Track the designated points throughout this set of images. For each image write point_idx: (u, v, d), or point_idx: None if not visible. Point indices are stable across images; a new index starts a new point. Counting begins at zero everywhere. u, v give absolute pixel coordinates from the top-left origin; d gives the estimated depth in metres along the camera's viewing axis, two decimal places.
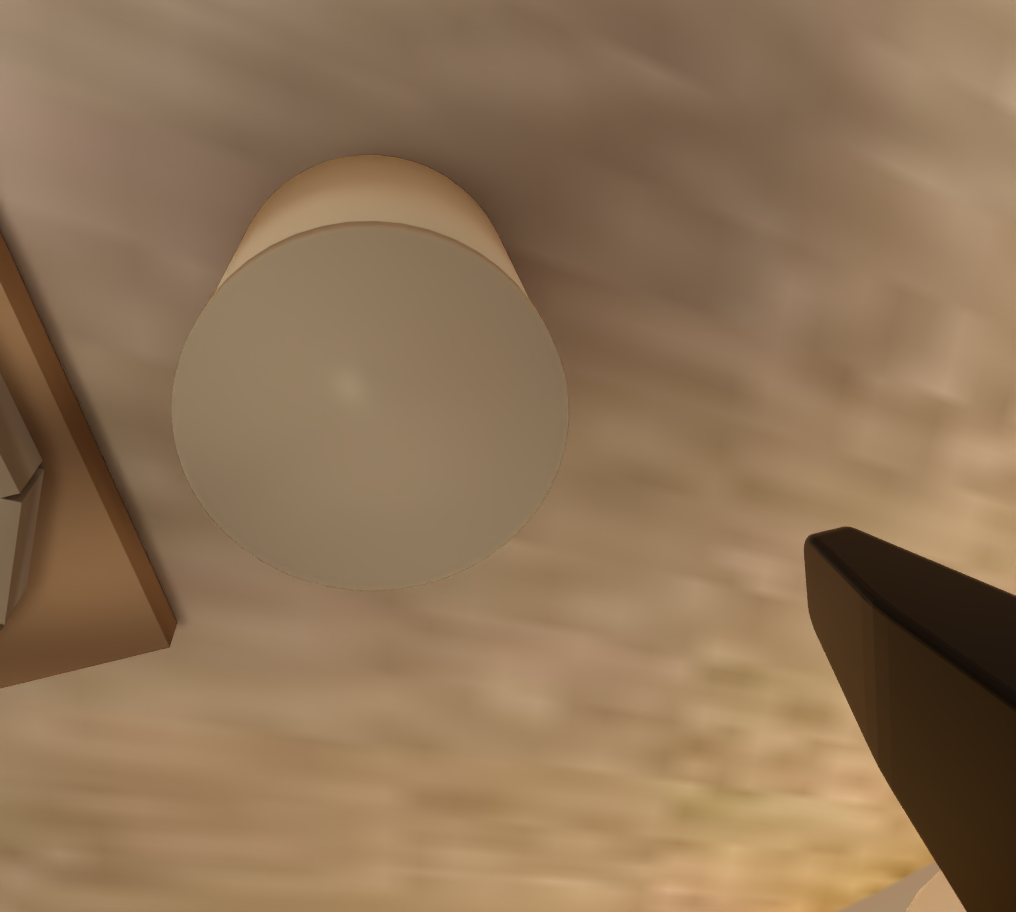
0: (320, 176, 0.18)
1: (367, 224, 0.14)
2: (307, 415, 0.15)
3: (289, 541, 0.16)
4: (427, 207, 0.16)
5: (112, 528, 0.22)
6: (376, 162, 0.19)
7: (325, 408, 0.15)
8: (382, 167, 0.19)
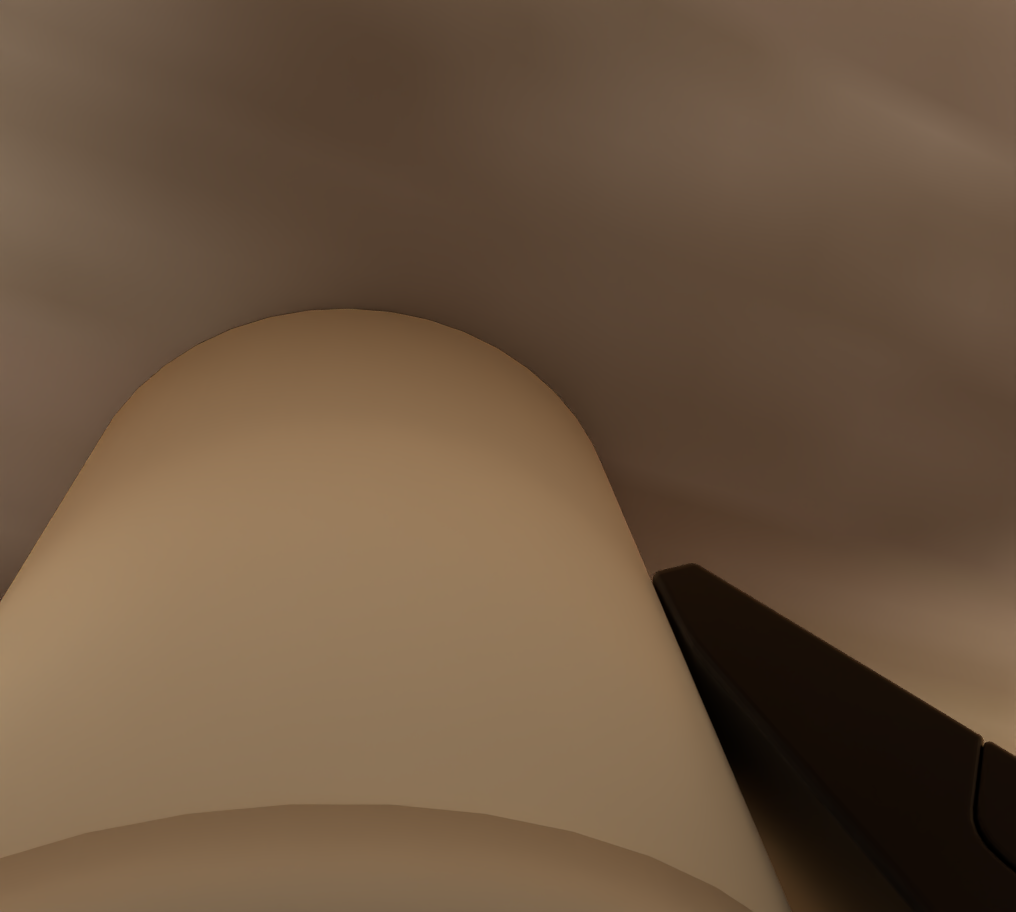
0: (216, 391, 0.08)
1: (251, 856, 0.04)
2: None
3: None
4: (467, 564, 0.06)
5: None
6: (347, 342, 0.09)
7: None
8: (359, 362, 0.08)
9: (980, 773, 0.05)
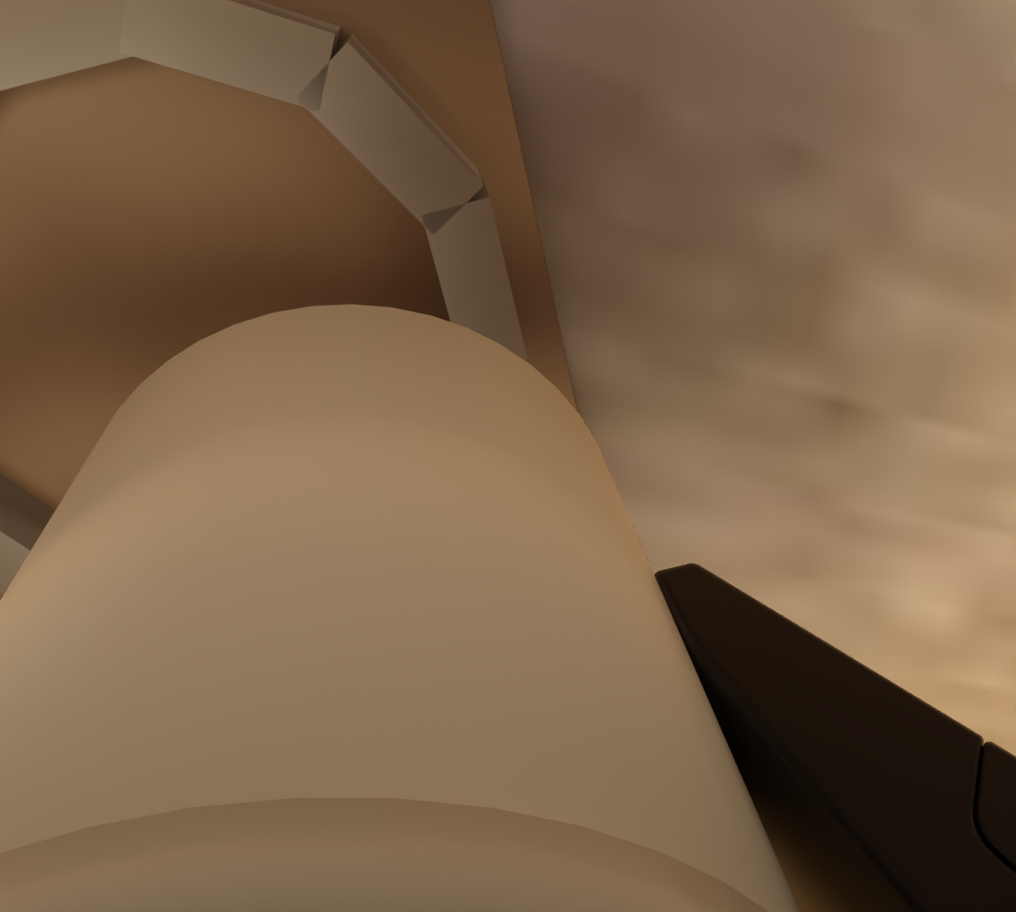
0: (218, 386, 0.08)
1: (257, 849, 0.04)
2: None
3: None
4: (472, 558, 0.06)
5: None
6: (350, 337, 0.09)
7: None
8: (362, 357, 0.08)
9: (980, 773, 0.05)
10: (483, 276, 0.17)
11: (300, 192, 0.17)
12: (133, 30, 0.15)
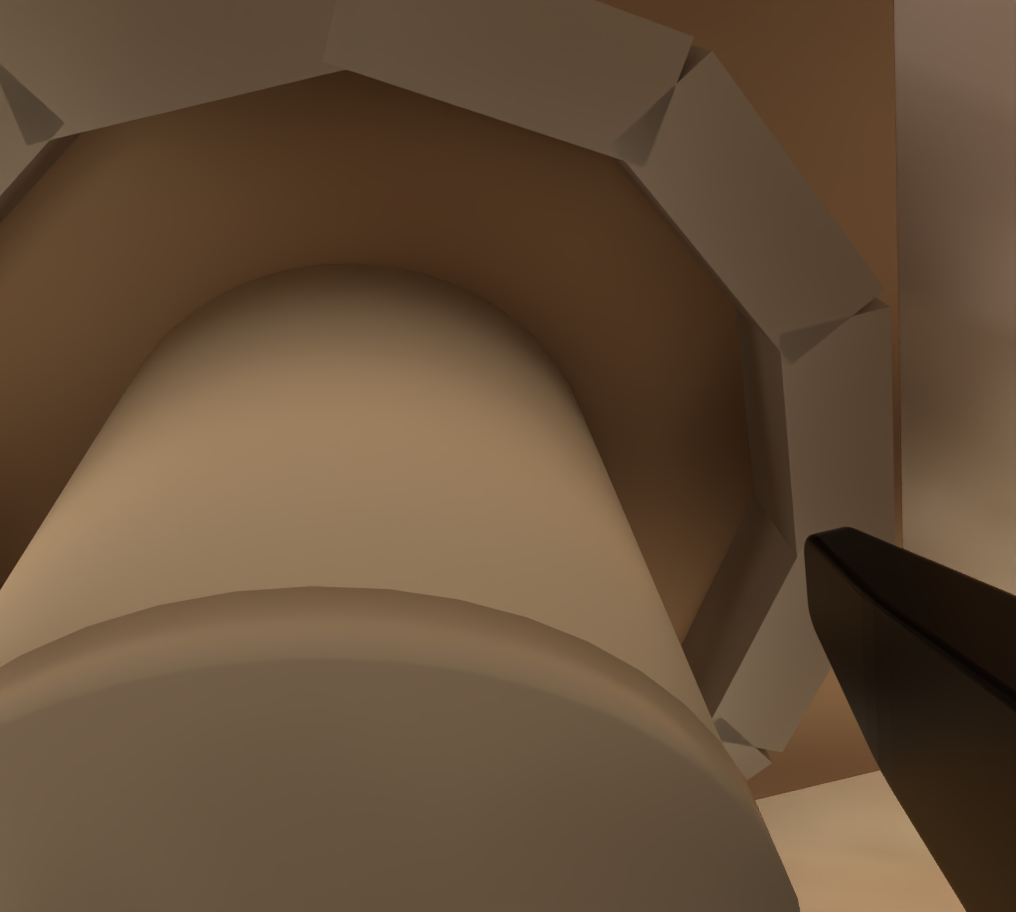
0: (238, 327, 0.09)
1: (283, 614, 0.05)
2: None
3: None
4: (452, 449, 0.07)
5: None
6: (352, 288, 0.10)
7: None
8: (362, 304, 0.10)
9: None
10: (855, 426, 0.11)
11: (552, 286, 0.11)
12: (353, 25, 0.08)
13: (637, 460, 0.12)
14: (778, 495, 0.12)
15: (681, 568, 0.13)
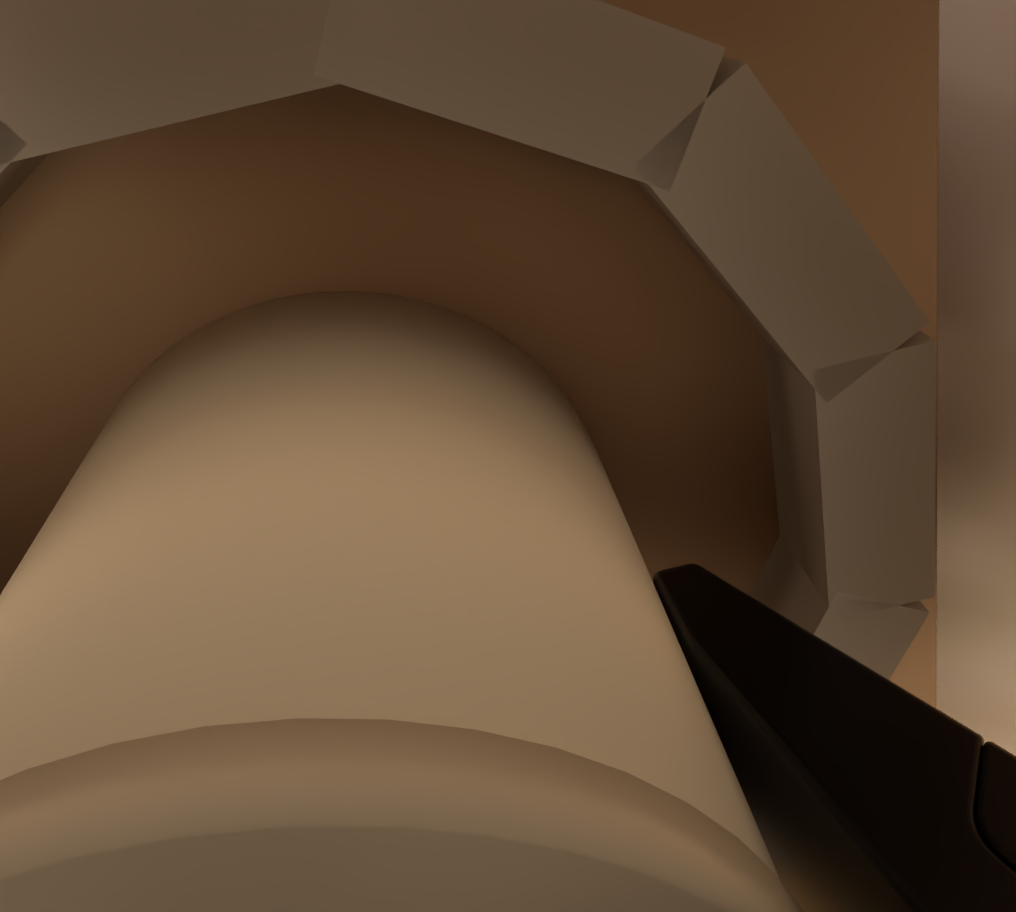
0: (222, 367, 0.08)
1: (262, 759, 0.04)
2: None
3: None
4: (461, 520, 0.06)
5: (932, 635, 0.13)
6: (348, 321, 0.09)
7: None
8: (359, 340, 0.09)
9: (980, 774, 0.05)
10: (894, 469, 0.10)
11: (565, 314, 0.10)
12: (346, 34, 0.07)
13: (654, 499, 0.11)
14: (808, 539, 0.11)
15: None
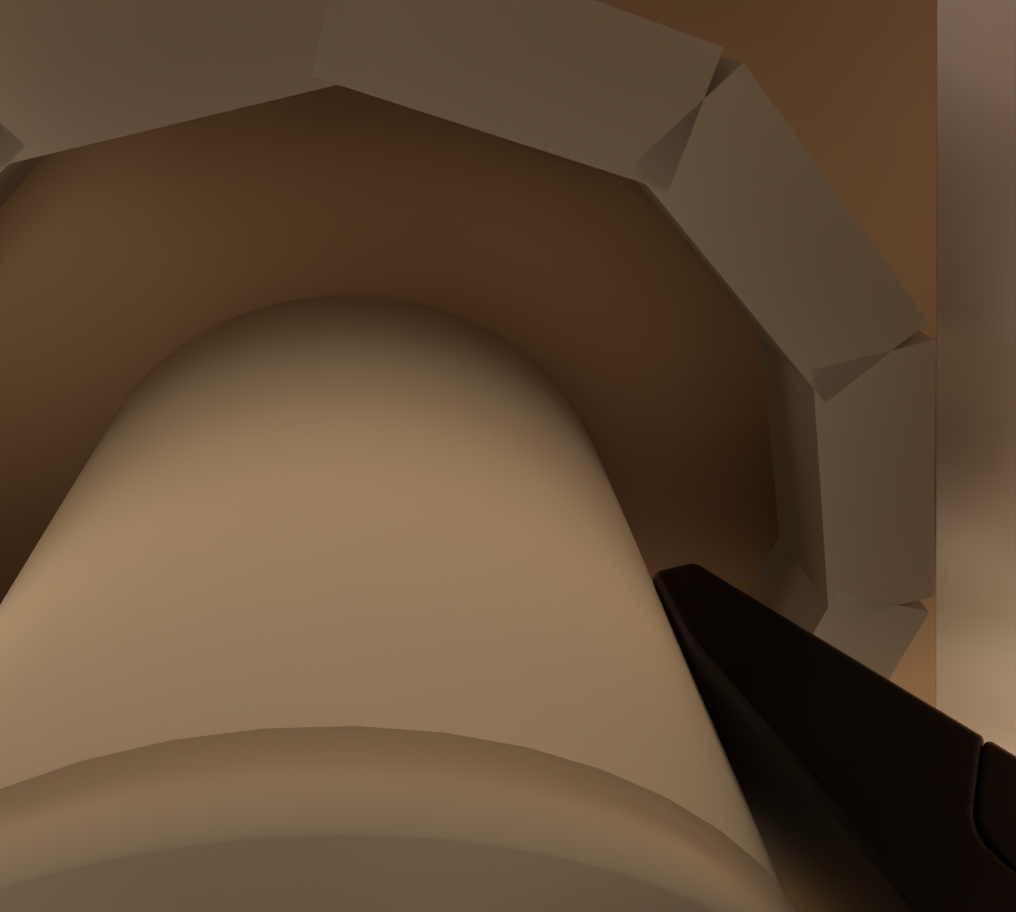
0: (542, 415, 0.09)
1: None
2: None
3: None
4: None
5: (931, 634, 0.13)
6: (596, 456, 0.10)
7: None
8: (609, 486, 0.10)
9: (980, 773, 0.05)
10: (893, 468, 0.10)
11: (564, 314, 0.10)
12: (344, 35, 0.07)
13: (653, 499, 0.11)
14: (807, 539, 0.11)
15: None
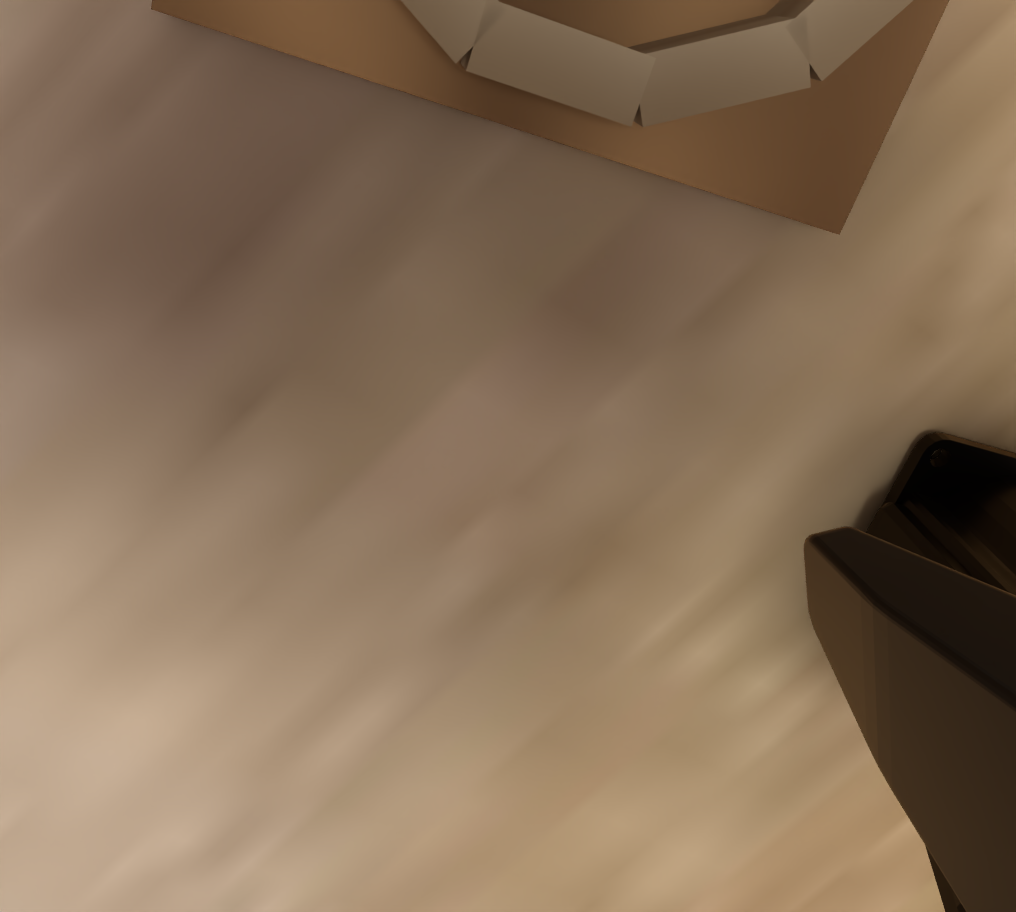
0: None
1: None
2: None
3: None
4: None
5: None
6: None
7: None
8: None
9: None
10: None
11: None
12: None
13: None
14: None
15: None
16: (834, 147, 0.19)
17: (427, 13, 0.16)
